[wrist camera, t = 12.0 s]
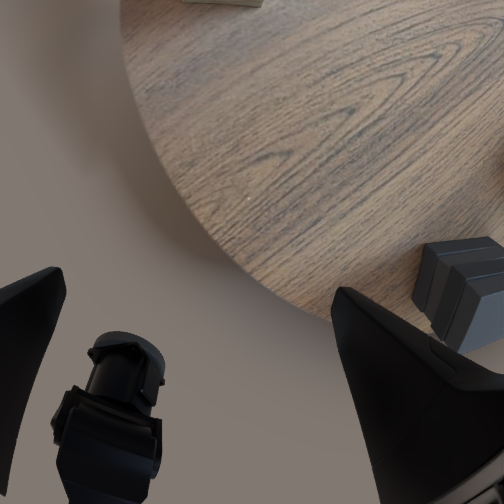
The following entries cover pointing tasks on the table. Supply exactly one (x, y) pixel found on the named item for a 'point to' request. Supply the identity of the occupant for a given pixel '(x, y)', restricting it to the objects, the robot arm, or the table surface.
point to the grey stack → (463, 291)
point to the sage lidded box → (229, 2)
